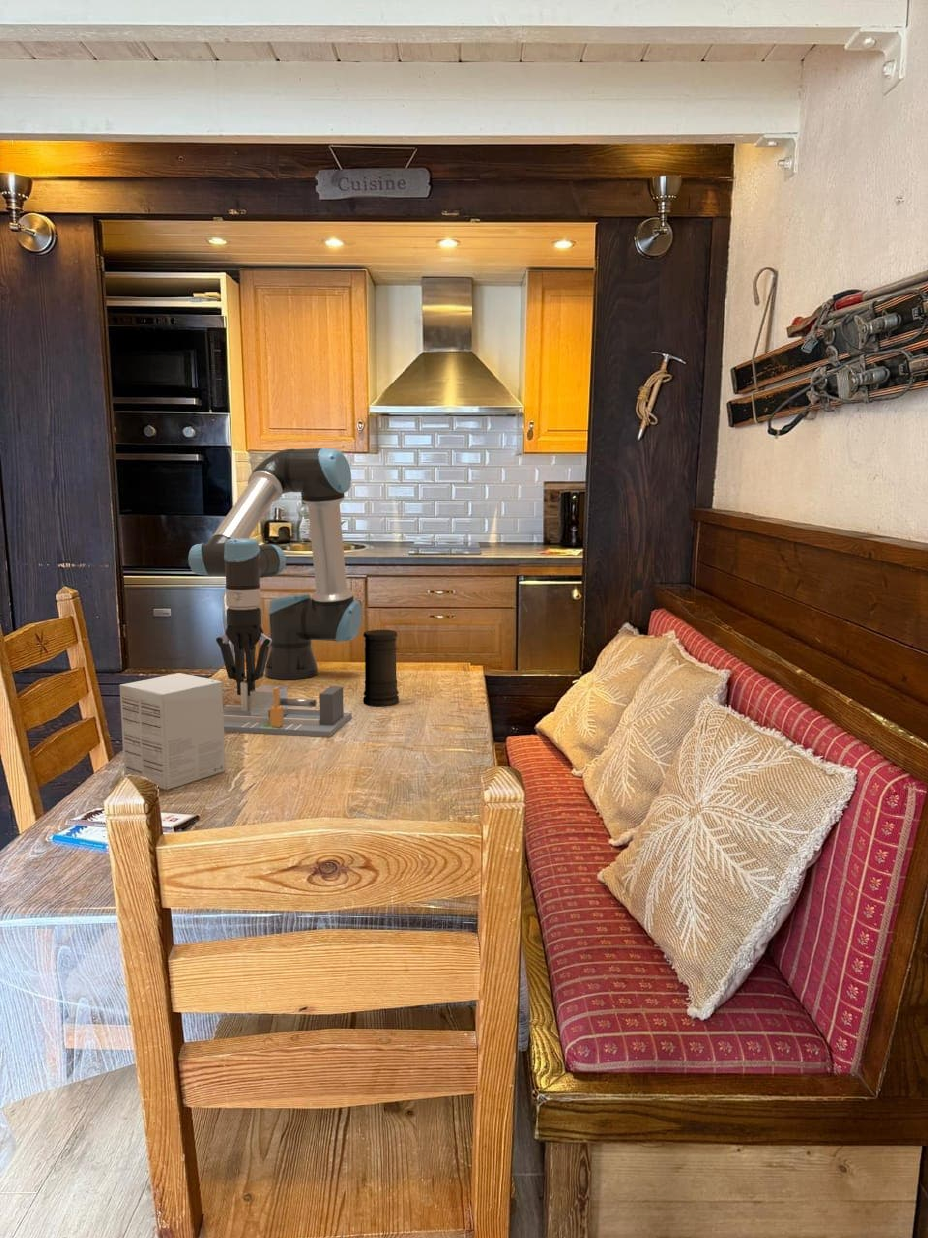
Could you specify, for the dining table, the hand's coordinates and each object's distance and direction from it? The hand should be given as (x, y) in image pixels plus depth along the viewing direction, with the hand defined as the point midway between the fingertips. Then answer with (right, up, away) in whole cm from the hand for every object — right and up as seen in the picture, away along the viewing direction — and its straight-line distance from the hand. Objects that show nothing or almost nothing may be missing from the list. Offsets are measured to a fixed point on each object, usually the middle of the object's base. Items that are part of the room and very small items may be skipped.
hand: (246, 709), depth 192 cm
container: (+29, -1, +19) cm, 35 cm away
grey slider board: (+7, -3, -2) cm, 7 cm away
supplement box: (-4, -8, -36) cm, 37 cm away
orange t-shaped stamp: (+9, -3, -8) cm, 12 cm away
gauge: (+9, -2, -3) cm, 10 cm away
